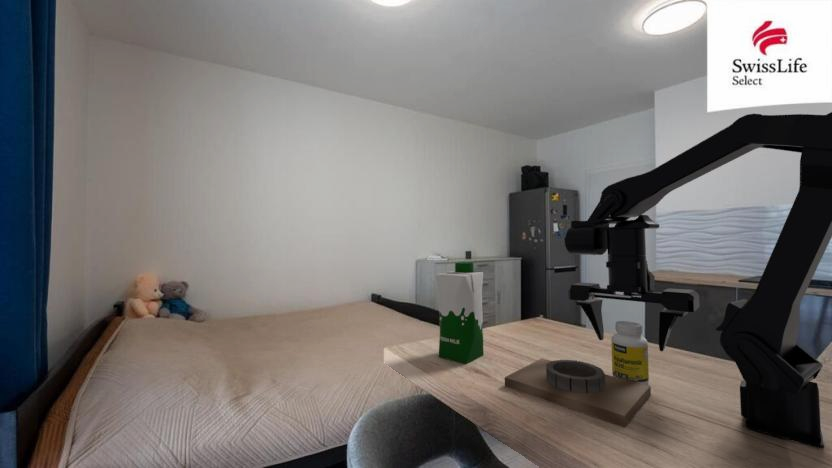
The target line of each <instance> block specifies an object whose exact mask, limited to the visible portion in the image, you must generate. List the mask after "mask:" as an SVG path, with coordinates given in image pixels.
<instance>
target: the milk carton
mask: <svg viewBox="0 0 832 468" xmlns="http://www.w3.org/2000/svg"><path fill="white" fill-rule="evenodd" d="M434 276H435V279H436V281H435V282H436V284H437V291H438V298H439V299H438V301H439V303H438V305H439V307H438V308H439V309H438V310H439V342H438V358H441V359H444V360H449V361H452V362H456V363H459V364H460V363H461V364H464V365H467V364H469V363H471V362H473V361H475V360H476V359H479V358H481V357H482V356H484V352H485V351H484V327H483V325H484V323H483V322H484V321H483V319H484V318H483V317H484V316H483V282H484V272H483V271H481V272H479V271H474V262H467V261H465V262H463V261H462V262H455V263H454V270H453V271H451V270H450V271H443V272H440V273H439V272H438V273H435V274H434Z"/></svg>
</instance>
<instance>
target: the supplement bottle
mask: <svg viewBox="0 0 832 468" xmlns="http://www.w3.org/2000/svg"><path fill="white" fill-rule="evenodd" d="M614 329H615V332H617V333H615V334H613V335H612V336H611V367H612V369H611V370H612V376H614V377H618V378H622V379H626V380H630V381H634V382H638V383H642V384H646V385H648V383H649V380H650V375H649V374H650V373H649V372H650V371H649V370H650V369H649V343H648V340H647V339H646V338H645V337H644V336H642V335H643V330H644V329H643V325H642V323H639V322H636V321H626V320H625V321H624V320H621V321H620V320H619V321H616V322H615V328H614Z"/></svg>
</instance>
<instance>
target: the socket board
mask: <svg viewBox="0 0 832 468" xmlns="http://www.w3.org/2000/svg"><path fill="white" fill-rule="evenodd" d="M504 387H506V388H509V389H510V390H511V389H512V390H515V391H518V392H519V393H520V392H521V393H523V394H526V395H529V396H532V397H535V398H539V399H541V400H545V401H547V402H549V403H552V404H555V405H559V406H562V407H565V408H567V409H571V410H573V411H576V412H578V413H582V414H584V415H588V416H590V417H593V418H596V419H599V420H602V421H605V422H607V423H611V424H614V425H616V426H619V427H623V428H626V426H627V425H628V424H629V423H630V422H631V420H632V419H633V418H634V417H635V416H636V415H637V413H638V412H639V411H640V409H641V408H642V407H643V406H644V404H645V403H646V402H647V401H648V399H650V397H651V396H652V391H651V390H652V389H651V388H652V386H651V385H650V384H649V385H648V384H642V383H638V382H634V381H630V380H626V379H622V378H618V377H614V376H613V375H610V374H605V372H604V370H603V369H602V368H601V367H598V366H597V365H594V364H591V363H589V362H584V361H581V360H575V359H574V360H573V359H572V360H571V359H558V360H551V359H550V360H549V359H546V358H540V359H538V360H536V361H534V362H532V363H530V364H527V365H526V366H524V367H522V368H520V369H518V370H516V371H515V372H512V373H510V374H508V375H507V376H505V377H504Z"/></svg>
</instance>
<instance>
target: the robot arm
mask: <svg viewBox="0 0 832 468" xmlns="http://www.w3.org/2000/svg"><path fill="white" fill-rule="evenodd" d="M759 148H760V149H761V148H762V149H768V150H769V149H770V150H777V151H783V152H784V151H785V152H794V153H801V154H800V160H799V188H798V192H797V194H796V196H795V199H794V201H793V203H792V206H791V208H790V211H789V213H788V215H787V217H786V220H785V222H784V223H783V226H782V229H781V232H780V233H779V236H778V238H777V241H776V242H775V245H774V247H773V249H772V251H771V254H770V256H769V259H768V260H767V264H766V266H765V269H764V270H763V272H762V275H761V277H760V279H759V282H758V284H757V287H756V288H755V291H754V293H753V294H752V295H751V297H750V298H749V299H745V298H743V299H739V300H737V301H732V302H728V303H727V305H726V308H725V314H724V317H723V320H722V322H721V323H720V325H719V326H717V327H716V329H715V330H716V331H718V332H721V334H720V335H719V336H720V337H719V345H720V346H721V348H722V349H723V351H724V352H725V354H726V355H727V356H728V357H729V358H730V359H731V360H732V361H734V362H735V364H736V366H737V369H738V371H739V373H740V375H741V376H742V379H743V380H741V382H740V385H739V398H740V399H739V401H740V416H741V417H742V418H743V419H745V422H744V424H745V427H746V428H747V429H749V430H753V431H757V432H760V433H762V434H763V433H765V434H767V435H770V436H774V437H777V438H778V437H779V438H782V439H784V440H790V441H792V442H796V443H799V444H803V445H807V446H810V447H813V448H818V449H825V442H824V438H823V432H822V425H821V405H820V403H821V402H820V390H819V385H818V383H817V382H813V381H812V380H815V379H816V378H817V377H818V376H819V374H820V372H821V370H822V369H823V363H821V362H820V360H818V359H816V358H815V357H814V356H813V355H812V354H810V353H809V352H808V351H807V350H805V349H804V348H803V347H802V346H801V345H799V344H798V343H797V342H798V336H799V329H800V319H801V318H800V317H801V315H800V313H801V310H800V308H801V303H802V300H803V299H804V296H805V294H806V292H807V290H808V287H809V285H810V284H811V281H812V279H813V277H814V275H815V273H816V271H817V269H818V267H819V265H820V263H821V261H822V258H823V257H824V254H825V252H826V250H827V249H828V248H827V247H828V245H829V243H830V241H831V239H832V111H830V112H829V113H826V114H809V113H807V114H804V113H802V114H801V113H799V114H798V113H797V114H795V113H794V114H774V115H771V114H761V113H750V114H745V115H743V116H741V117H739V118H737V119H736V120H735V121H734V122H732V123H731V124H730V125H729V126H726V127H725V128H723V129H722V130H719V131H718V132H716V133H715V134H713V135H711V136H709V137H708V138H706V139H704V140H702V141H700V142H699V143H697V144H695V145H694V146H692V147H689V148H688V149H686V150H685V151H683V152H681V153H679V154H677V155H676V156H675V157H673V158H671V159H669V160H667V161H665V162H664V163H662V164H660V165H658V166H657V167H655V168H654V169H651V170H650V171H647V172H645V173H641V174H638V175H634V176H630V177H626V178H624V179H622V180H621V179H620V180H619V181H617V182H614V183H612V184H609V185H607V186H606V187H605V188H603V190H602V191H601V195H600V198H599V202H598V203H597V205H596V206H595V208H594V209H593V211H592V213H591V214H590V215H589V216H588V217H589V218H588V219H587V220H571V222H570V227H569V228H568V230H567V231H566V234H565V237H564V246H565V248H566V250H567V252H568V253H569V254H571V255H583V256H585V255H589V256H592V255H593V256H594V255H595V256H596V255H597V256H601V255H604V254H605V253H606V252H607V261H605V265H606V266H605V267H606V268H608V269H607V270H608V284H607V285H606V288H605V287H601V286H600V283H594V282H583V281H582V282H577V283H573V284H571V285H570V286H569V287H568V289H567V293H568V294H567V295H568V296H567V297H568V300H570V301H575V305H576V306H580V307H581V309H582V311H584V314H585V315H586V317H587V318H588V320H589V322H590V323H591V327H592V328H593V330H594V332H595V334H596V336H597V338H598V340H599V341H604V334H605V333H604V320H603V313H602V306H603V299H607V300H608V299H609V300H620V301H629V302H630V301H631V302H638V303H639V302H641V303H650V304H651V303H652V304H660V305H662V306H663V307H664V308H663V309H662V310H660V311H659V319H658V320H659V321H658V322H659V323H658V326H659V327H658V347H659V351H660V352H664V350H665V348H666V345H667V344H668V343H667V342H668V340H669V337H670V336H671V333H672V332H671V331H672V329H673V327H674V324H675V323H676V321H677V320H678V318H679V317H680V318H681V317H683V318H684V317H685V316H686V315H687V314H688V313H694V312H696V311H698V309H699V308H700V296H699V293H698V292H697V291H695V289H685V288H672V287H671V288H666V289H664V290H662V291H661V292H658V291H655V280H656V278H655V275H654V274H653V272H651V271H650V270H649V268H648V267H649V265H648V260H647V256H646V255H647V254H646V253H647V251H646V249H647V248H646V230H647V229H648V230H649V229H653V230H654V229H659V228H660V224H659V223H658V222H655V221H654V220H653V219H652V218H651V217H650V216H649V215H648V214H645V213H646V212H648V211H649V210H651V209H652V208H653V207H655V206H657V205H658V204H659V203H660V201H661V200H662V199H664V198H665V197H666V196H667V195H669V193H671V192H672V191H674V190H676V189H679V188H680V187H682V186H684V185H686V184H688V183H691V182H692V181H694V180H697V179H698V178H701V177H702V176H704V175H707V174H708V173H710V172H712V171H715V170H716V169H718V168H721V167H722V166H725V165H727V164H728V163H730V162H732V161H734V160H736V159H738V158H740V157H742V156H744V155H746V154H748V153H750V152H752V151H754V150H756V149H759ZM630 218H635V219H630ZM610 225H614V226H610ZM618 293H619V294H618ZM620 293H622V294H620Z"/></svg>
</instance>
